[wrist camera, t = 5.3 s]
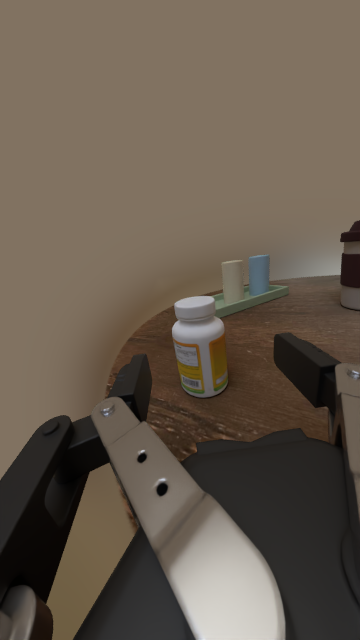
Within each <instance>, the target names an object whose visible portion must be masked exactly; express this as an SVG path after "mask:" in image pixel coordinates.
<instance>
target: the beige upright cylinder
mask: <svg viewBox="0 0 360 640" xmlns="http://www.w3.org/2000/svg"><path fill="white" fill-rule="evenodd" d="M221 264H222V279H223V293H224V303H225V304H232V303H235V302H238V301H241V300H244V277H243V260H236V261H228V262H223V263H221Z"/></svg>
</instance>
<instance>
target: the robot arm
mask: <svg viewBox="0 0 360 640" xmlns="http://www.w3.org/2000/svg"><path fill="white" fill-rule="evenodd" d="M274 361H275V364H276V366H277V367H278V368H279V369H280V370H281V371H282V372H283V374H284V375H285V376H286V377H287V378H288V379H289V380H290V381H291V382H292V383H293V384H294V385H295V386H296V388H297V389H298V390H299V391H300V392H301V393H302V394H303V395H304V396H305V397H306V398H307V399H308V400H309V401H310V403H311V404H312V405H313V406H314V407H315V408H318V407H325V406H327V407H328V408H329V410H328V439H329V443H328V442H325V441H322V440H318V439H314V438H308V437H306V435H305V434H304V432H303V431H302V430H301V428H297V429H290V430H283V431H276V432H273V433H271V434H268V435H266V436H264V437H262V438H259V439H257V440H255V441H253V442H243V441H233V440H223V439H220V440H213V441H206V442H199V443H196V447H197V452H196V453H194V454H192V455H190V456H189V457H187V458H186V459H185V460H183V461H182V462H181V463H179V461H178V460H177V459H176V458H175V457H174V455H173V454H172V453H171V452H170V450H169V449H168V448H167V447H166V446H165V444H164V443H163V442H162V441H161V440H160V438H159V437H158V436H157V435H156V434H155V432H154V431H153V430H152V429H151V427H150V426H149V425H148V424H147V423H146V419H147V412H148V406H149V400H150V394H151V387H152V376H151V371H150V367H149V363H148V359H147V355H146V354H139V355H133V357H132V360H131V362H130V364H126V365H125V366H124V367H123V368H122V369H121V370H120V371H119V373H118V376H117V378H116V380H115V382H114V384H113V387H112V389H111V391H110V393H109V395H108V398H107V399H105V400H103V401H101V402H100V403H99V404H97V405H96V406H95V407H94V409H93V410H92V412H91V415H90V416H87V417H85V418H82V419H80V420H77V421H75V422H71V419H70V418H69V417H68V416H66V415H63V416H58V417H54V418H53V419H50V420H48V421H47V422H45V423H44V424H43V425H41V426H40V427H39V428H38V429H37V430H36V431H35V433H34V434H33V435H32V437H31V438H30V439H29V441H28V442H27V444H26V445H25V446H24V448H23V449H22V451H21V452H20V454H19V455H18V456H17V458H16V459H15V460H14V462H13V463H12V465H11V466H10V467H9V469H8V470H7V472H6V473H5V474H4V476H3V477H2V479H1V480H0V640H52V634H53V618H52V613H51V610H50V609H49V607H48V606H47V605H46V603H47V600H48V597H49V594H50V591H51V588H52V585H53V582H54V578H55V575H56V572H57V569H58V566H59V563H60V560H61V557H62V554H63V551H64V548H65V545H66V542H67V539H68V535H69V532H70V530H71V526H72V523H73V521H74V518H75V515H76V511H77V509H78V506H79V502H80V500H81V496H82V493H83V490H84V487H85V484H86V481H87V478H88V475H89V472H90V471H92V470H94V469H96V468H98V467H101V466H102V465H105V464H107V463H110V465H111V467H112V469H113V472H114V474H115V476H116V478H117V481H118V483H119V485H120V487H121V489H122V492H123V494H124V496H125V498H126V501H127V503H128V505H129V508H130V510H131V512H132V515H133V517H134V519H135V522H136V524H137V526H138V528H139V529H138V531H137V532H136V534H135V536H134V537H133V539H132V541H131V542H130V544H129V546H128V548H127V549H126V551H125V553H124V554H123V556H122V558H121V559H120V561H119V563H118V564H117V566H116V568H115V570H114V571H113V573H112V574H111V576H110V578H109V580H108V581H107V583H106V585H105V586H104V588H103V590H102V591H101V593H100V595H99V596H98V598H97V600H96V601H95V603H94V605H93V606H92V608H91V610H90V611H89V613H88V615H87V616H86V618H85V620H84V622H83V623H82V625H81V627H80V628H79V630H78V632H77V633H76V635H75V637H74V639H73V640H360V365H358V364H353V363H341V362H339V361H338V360H336V359H335V358H333V357H332V356H330V355H329V354H327V353H325V352H323V351H322V350H321V349H319V348H317V347H316V346H315V345H313V344H311V343H310V342H307V341H305V340H302V339H299V338H297V337H296V336H294V335H293V334H291V333H289V332H288V333H281V334H276V335H275V337H274Z"/></svg>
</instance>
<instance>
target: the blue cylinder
mask: <svg viewBox="0 0 360 640" xmlns="http://www.w3.org/2000/svg"><path fill="white" fill-rule="evenodd" d="M267 292H269V255H259V256H253V257H249V295H251V296H257V295H260V294H263V293H267Z"/></svg>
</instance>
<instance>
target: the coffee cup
mask: <svg viewBox="0 0 360 640" xmlns="http://www.w3.org/2000/svg"><path fill="white" fill-rule="evenodd" d="M340 242H344V253H342V264H341V280H340V283H341V285H342V289H341V304H342V305H343V306H344V307H347V308H350V309H355V310H360V220H359V221H356V222H355V223H354V224H353V226H352V227H351V229H350V231H349V232H344V233H342V234H341V239H340Z"/></svg>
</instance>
